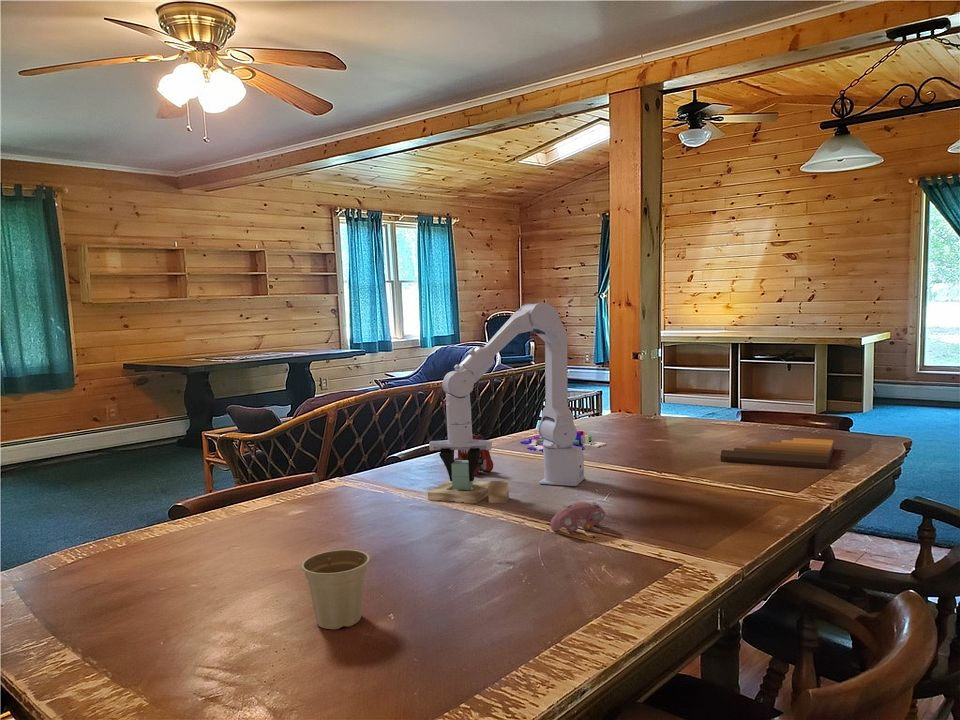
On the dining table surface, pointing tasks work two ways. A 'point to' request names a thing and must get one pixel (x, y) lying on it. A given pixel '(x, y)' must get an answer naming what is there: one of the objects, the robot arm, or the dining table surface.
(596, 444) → the building block set
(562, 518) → the video game controller
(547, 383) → the robot arm
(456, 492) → the base plate
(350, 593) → the flower pot
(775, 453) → the pan flute
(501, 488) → the maple cube
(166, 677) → the dining table surface
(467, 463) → the teal brick
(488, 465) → the toy fire truck
